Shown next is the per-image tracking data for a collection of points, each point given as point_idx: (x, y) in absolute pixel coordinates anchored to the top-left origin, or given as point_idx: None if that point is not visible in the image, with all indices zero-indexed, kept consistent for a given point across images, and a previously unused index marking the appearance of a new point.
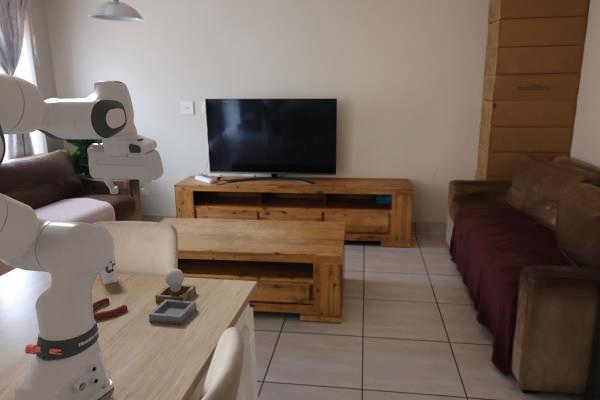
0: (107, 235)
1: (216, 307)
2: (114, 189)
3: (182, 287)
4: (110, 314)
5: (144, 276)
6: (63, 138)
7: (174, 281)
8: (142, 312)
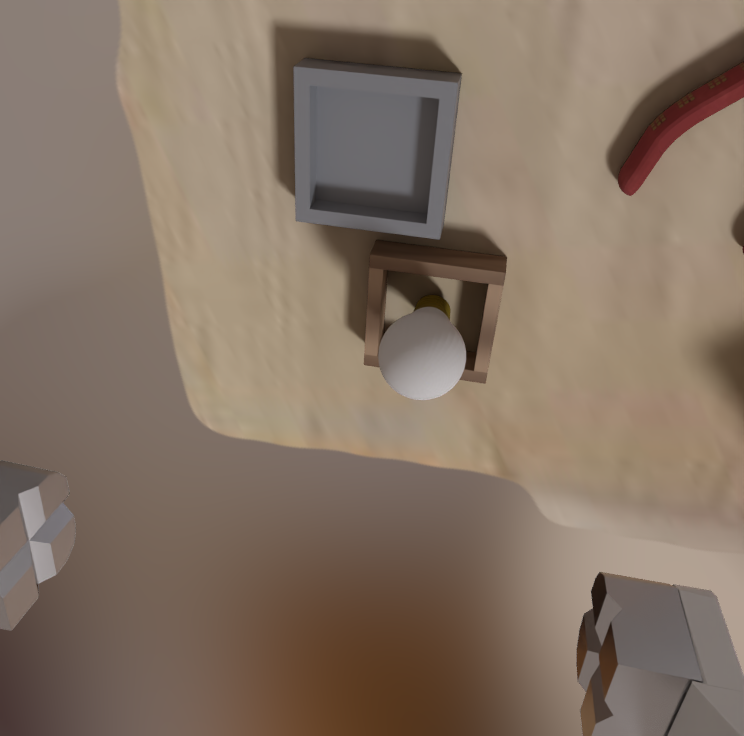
0: None
1: (231, 228)
2: (611, 646)
3: None
4: (681, 102)
5: (656, 487)
6: None
7: (406, 319)
8: (535, 164)
